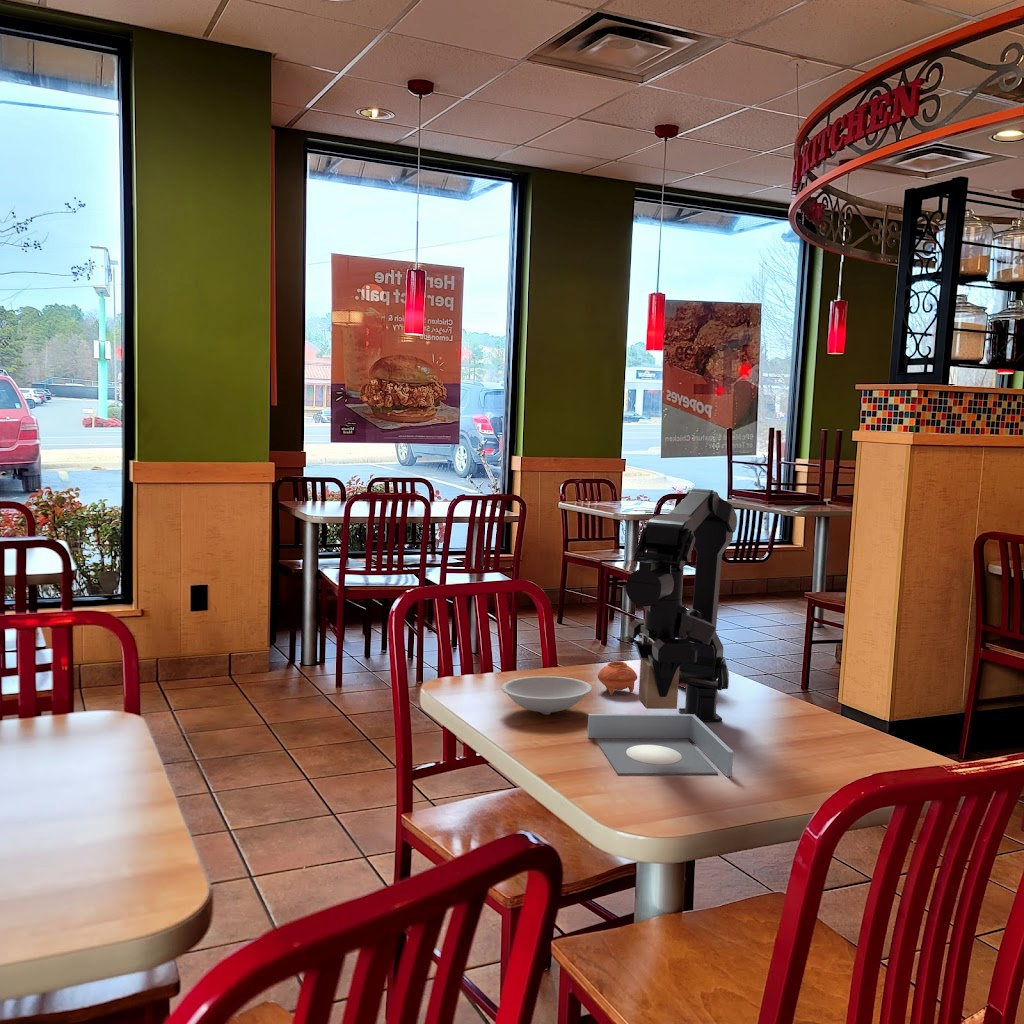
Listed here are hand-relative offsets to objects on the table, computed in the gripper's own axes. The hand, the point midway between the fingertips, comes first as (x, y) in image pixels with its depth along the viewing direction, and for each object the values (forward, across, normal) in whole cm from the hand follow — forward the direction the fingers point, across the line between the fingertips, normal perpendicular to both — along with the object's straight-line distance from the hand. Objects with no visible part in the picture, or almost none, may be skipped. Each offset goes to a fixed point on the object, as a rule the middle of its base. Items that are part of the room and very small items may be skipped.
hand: (658, 691), depth 155 cm
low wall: (+11, 0, 0) cm, 11 cm away
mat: (+11, 0, 0) cm, 11 cm away
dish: (+11, +23, +14) cm, 29 cm away
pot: (+11, +37, -3) cm, 39 cm away
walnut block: (+2, 0, 0) cm, 2 cm away
